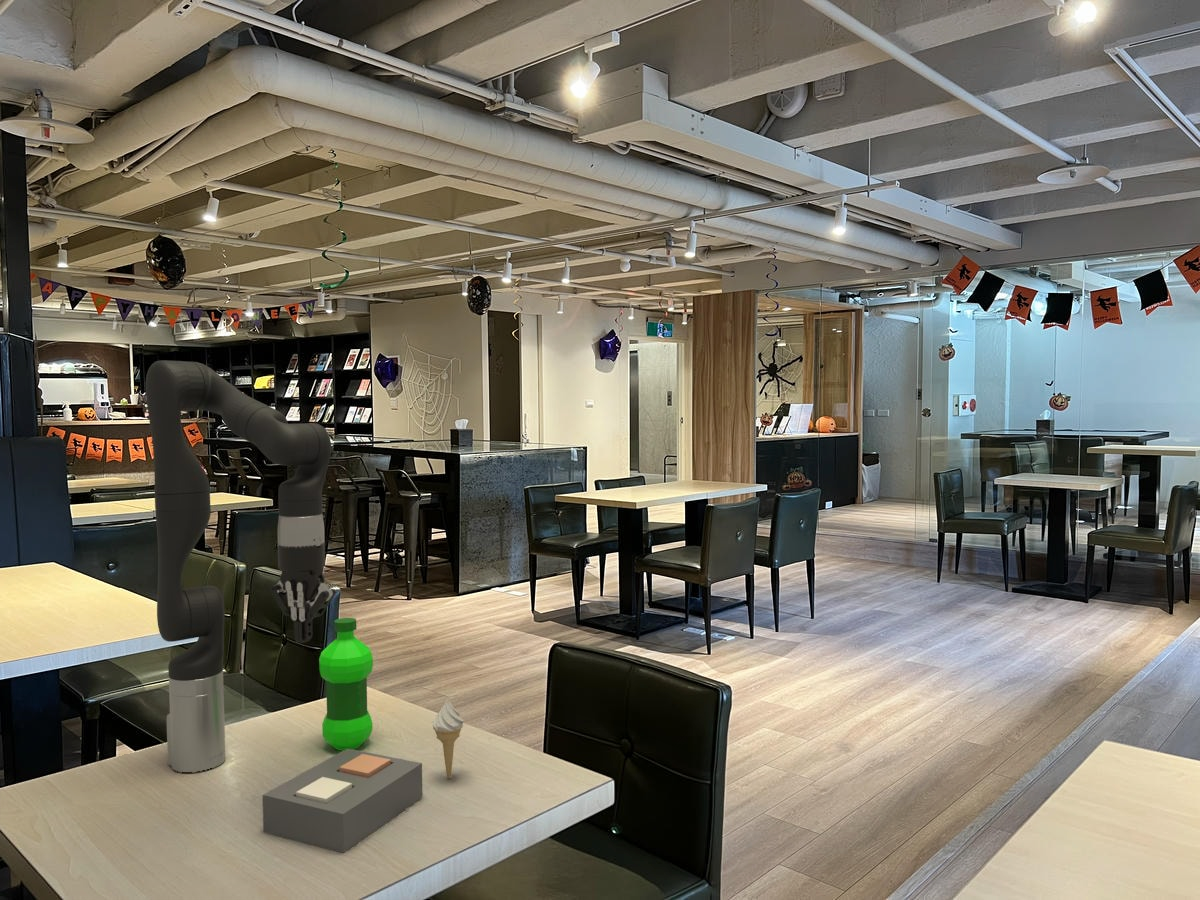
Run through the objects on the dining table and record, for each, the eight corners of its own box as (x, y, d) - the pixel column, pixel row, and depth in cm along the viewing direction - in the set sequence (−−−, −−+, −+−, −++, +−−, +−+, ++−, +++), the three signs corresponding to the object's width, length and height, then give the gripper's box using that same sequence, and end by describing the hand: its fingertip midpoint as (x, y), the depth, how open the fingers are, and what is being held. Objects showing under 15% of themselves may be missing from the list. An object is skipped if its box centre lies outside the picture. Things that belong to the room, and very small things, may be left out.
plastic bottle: (312, 743, 173) (310, 619, 172) (363, 731, 180) (361, 611, 178) (330, 760, 165) (327, 630, 164) (383, 747, 172) (380, 621, 170)
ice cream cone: (470, 775, 158) (469, 694, 157) (452, 788, 153) (451, 704, 152) (444, 770, 161) (443, 690, 160) (426, 782, 156) (425, 699, 155)
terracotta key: (339, 784, 147) (339, 767, 146) (362, 770, 152) (362, 753, 152) (368, 790, 144) (368, 773, 144) (391, 776, 150) (390, 759, 149)
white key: (296, 810, 138) (296, 791, 137) (322, 794, 143) (322, 776, 143) (326, 817, 135) (326, 798, 135) (352, 801, 141) (351, 783, 140)
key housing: (263, 831, 138) (262, 794, 138) (348, 781, 156) (347, 748, 156) (343, 852, 131) (343, 814, 131) (422, 797, 150) (422, 763, 149)
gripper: (255, 541, 148) (257, 642, 149) (316, 547, 142) (318, 651, 143) (287, 535, 155) (289, 631, 156) (347, 540, 149) (348, 640, 150)
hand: (303, 641), depth 149 cm, fingers closed
